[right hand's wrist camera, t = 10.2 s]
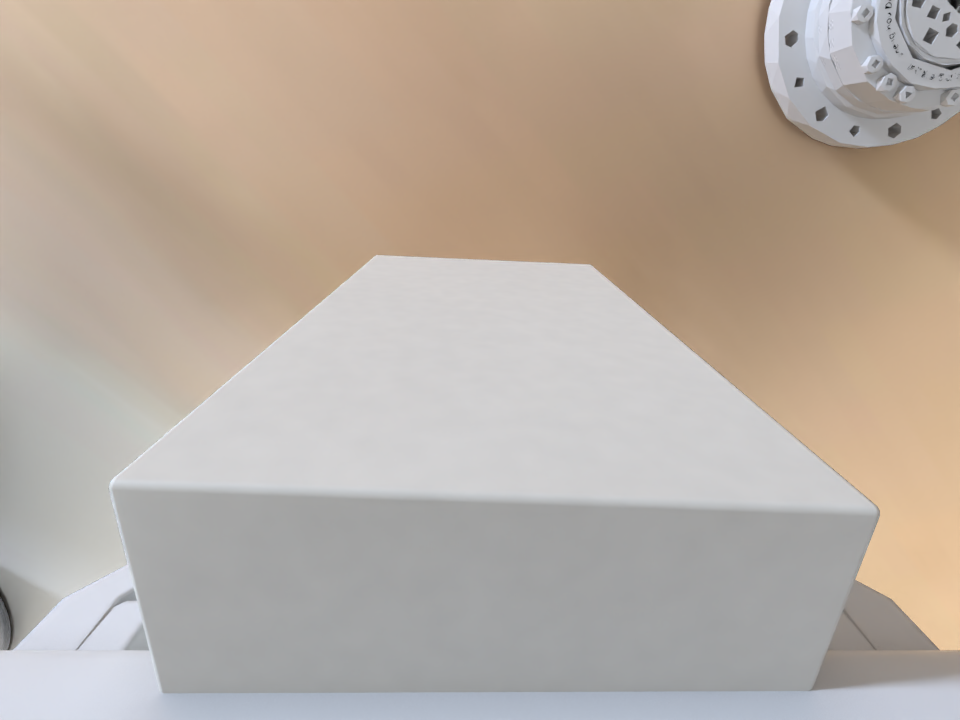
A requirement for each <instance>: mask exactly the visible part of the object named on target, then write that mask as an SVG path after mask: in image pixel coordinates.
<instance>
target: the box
mask: <svg viewBox="0 0 960 720" xmlns="http://www.w3.org/2000/svg"><path fill="white" fill-rule="evenodd" d="M109 492H110V496H111V500H112V504H113V508H114V512H115V516H116V520H117V524H118V528H119V532H120V536H121V540H122V544H123V548H124V552H125V556H126V560H127V564H128V568H129V572H130V576H131V579H132V583H133V587H134V591H135V595H136V599H137V603H138V607H139V611H140V615H141V619H142V623H143V627H144V631H145V635H146V639H147V643H148V647H149V651H150V655H151V659H152V663H153V667H154V671H155V675H156V679H157V683H158V687H159V691H160V692H162V693H399V692H667V691H809V690H812V689H813V686H814V684H815V681H816V679H817V676H818V673H819V671H820V668H821V666H822V663H823V661H824V658H825V655H826V653H827V650H828V648H829V645H830V643H831V640H832V637H833V635H834V632H835V630H836V627H837V625H838V622H839V619H840V617H841V614H842V612H843V609H844V607H845V604H846V601H847V599H848V596H849V594H850V591H851V589H852V586H853V583H854V581H855V578H856V576H857V573H858V571H859V568H860V565H861V563H862V560H863V558H864V555H865V553H866V550H867V547H868V545H869V542H870V540H871V537H872V535H873V532H874V529H875V527H876V524H877V522H878V519H879V517H880V510H879V509H878V507H877V506H876V505H875V504H874V503H873V502H872V501H870V500H869V499H868V498H867V497H866V496H864V495H863V494H862V493H861V492H860V491H858V490H857V489H856V488H855V487H854V486H853V485H851V484H850V483H849V482H848V481H847V480H845V479H844V478H843V477H842V476H841V475H840V474H838V473H837V472H836V471H835V470H834V469H832V468H831V467H830V466H829V465H828V464H826V463H825V462H824V461H823V460H822V459H821V458H819V457H818V456H817V455H816V454H815V453H813V452H812V451H811V450H810V449H809V448H808V447H806V446H805V445H804V444H803V443H802V442H800V441H799V440H798V439H797V438H796V437H794V436H793V435H792V434H791V433H790V432H789V431H787V430H786V429H785V428H784V427H783V426H781V425H780V424H779V423H778V422H777V421H776V420H774V419H773V418H772V417H771V416H770V415H768V414H767V413H766V412H765V411H764V410H762V409H761V408H760V407H759V406H758V405H757V404H755V403H754V402H753V401H752V400H751V399H749V398H748V397H747V396H746V395H745V394H744V393H742V392H741V391H740V390H739V389H738V388H736V387H735V386H734V385H733V384H732V383H731V382H729V381H728V380H727V379H726V378H725V377H723V376H722V375H721V374H720V373H719V372H717V371H716V370H715V369H714V368H713V367H712V366H710V365H709V364H708V363H707V362H706V361H704V360H703V359H702V358H701V357H700V356H699V355H697V354H696V353H695V352H694V351H693V350H691V349H690V348H689V347H688V346H687V345H685V344H684V343H683V342H682V341H681V340H680V339H678V338H677V337H676V336H675V335H674V334H672V333H671V332H670V331H669V330H668V329H667V328H665V327H664V326H663V325H662V324H661V323H659V322H658V321H657V320H656V319H655V318H653V317H652V316H651V315H650V314H649V313H648V312H646V311H645V310H644V309H643V308H642V307H640V306H639V305H638V304H637V303H636V302H635V301H633V300H632V299H631V298H630V297H629V296H627V295H626V294H625V293H624V292H623V291H621V290H620V289H619V288H618V287H617V286H616V285H614V284H613V283H612V282H611V281H610V280H608V279H607V278H606V277H605V276H604V275H603V274H601V273H600V272H599V271H598V270H597V269H595V268H594V267H593V266H592V265H590V264H567V263H544V262H522V261H499V260H476V259H453V258H431V257H408V256H385V255H376V256H375V257H373V258H372V259H371V260H370V261H369V262H368V263H366V264H365V265H364V266H363V267H362V268H360V269H359V270H358V271H357V272H356V273H355V274H353V275H352V276H351V277H350V278H349V279H347V280H346V281H345V282H344V283H343V284H342V285H340V286H339V287H338V288H337V289H336V290H335V291H333V292H332V293H331V294H330V295H329V296H327V297H326V298H325V299H324V300H323V301H322V302H320V303H319V304H318V305H317V306H316V307H315V308H313V309H312V310H311V311H310V312H309V313H307V314H306V315H305V316H304V317H303V318H302V319H300V320H299V321H298V322H297V323H296V324H294V325H293V326H292V327H291V328H290V329H289V330H287V331H286V332H285V333H284V334H283V335H282V336H280V337H279V338H278V339H277V340H276V341H274V342H273V343H272V344H271V345H270V346H269V347H267V348H266V349H265V350H264V351H263V352H262V353H260V354H259V355H258V356H257V357H256V358H254V359H253V360H252V361H251V362H250V363H249V364H247V365H246V366H245V367H244V368H243V369H241V370H240V371H239V372H238V373H237V374H236V375H234V376H233V377H232V378H231V379H230V380H229V381H227V382H226V383H225V384H224V385H223V386H221V387H220V388H219V389H218V390H217V391H216V392H214V393H213V394H212V395H211V396H210V397H209V398H207V399H206V400H205V401H204V402H203V403H201V404H200V405H199V406H198V407H197V408H196V409H194V410H193V411H192V412H191V413H190V414H188V415H187V416H186V417H185V418H184V419H183V420H181V421H180V422H179V423H178V424H177V425H176V426H174V427H173V428H172V429H171V430H170V431H168V432H167V433H166V434H165V435H164V436H163V437H161V438H160V439H159V440H158V441H157V442H155V443H154V444H153V445H152V446H151V447H150V448H148V449H147V450H146V451H145V452H144V453H143V454H141V455H140V456H139V457H138V458H137V459H135V460H134V461H133V462H132V463H131V464H130V465H128V466H127V467H126V468H125V469H124V470H123V471H121V472H120V473H119V474H118V475H117V476H115V477H114V478H113V479H112V480H111V482H110V484H109Z"/></svg>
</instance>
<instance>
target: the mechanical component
mask: <svg viewBox="0 0 960 720" xmlns="http://www.w3.org/2000/svg"><path fill="white" fill-rule="evenodd" d="M764 49H765V66H766V70H767V75H768V79H769V83H770V88H771V90H772V92H773V94H774V96H775V98H776V100H777V101H778V103H779V105H780V107H781V109H782V111H783V113H784V115H785V116H786V118H787V119H788V120H789V121H790V122H792V123H793V124H794V125H796V126H797V127H798V128H799V129H801V130H802V131H803V132H805V133H806V134H807V135H809V136H810V137H811V138H812V139H815V140H817V141H820V142H823V143H825V144H828V145H830V146H839V147H849V148H867V147H877V146H887V145H893V144H897V143H900V142H904V141H907V140H911V139H915V138H917V137H919V136H921V135H923V134H925V133H927V132H929V131H931V130H933V129H935V128H936V127H938V126H940V125H942V124H943V123H945V122H946V121H947V120H949V119H950V118H951V117H953V116H954V115H955V114H957V113H958V112H959V111H960V0H771V3H770V6H769V10H768V16H767V22H766V28H765V34H764Z"/></svg>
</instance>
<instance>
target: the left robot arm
mask: <svg viewBox="0 0 960 720" xmlns="http://www.w3.org/2000/svg"><path fill="white" fill-rule="evenodd" d="M10 638H11V627H10V620H9V616H8V613H7V610H6V607H5V605H4V603H3V601H2V599H1V597H0V650H8V648H9V644H10Z"/></svg>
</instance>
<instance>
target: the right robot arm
mask: <svg viewBox="0 0 960 720" xmlns="http://www.w3.org/2000/svg"><path fill="white" fill-rule="evenodd" d="M0 720H960V650H939V649H938V648H937V647H936V646H935V644H934V643H933V642H932V641H931V640H930V639H929V638H928V637H927V636H926V635H925V634H924V633H923V632H922V631H921V630H920V629H919V628H918V627H917V626H916V625H915V624H914V622H913V621H912V620H911V619H910V618H909V617H908V616H907V615H906V614H905V613H904V612H903V611H902V610H901V609H900V608H899V607H898V606H897V605H896V604H895V603H894V601H893V600H892V599H890V598H888V597H886V596H884V595H883V594H881V593H879V592H877V591H875V590H873V589H871V588H869V587H868V586H866V585H864V584H862V583H860V582H858V581H856V580H855V581H854V583H853V586H852V589H851V591H850V594H849V596H848V599H847V601H846V604H845V607H844V609H843V612H842V614H841V617H840V619H839V622H838V625H837V627H836V630H835V632H834V635H833V637H832V640H831V643H830V645H829V648H828V650H827V653H826V655H825V658H824V661H823V663H822V666H821V668H820V671H819V673H818V676H817V679H816V681H815V684H814V686H813V689H812V690H809V691H667V692H399V693H162V692H160V691H159V687H158V683H157V679H156V675H155V671H154V667H153V663H152V659H151V655H150V651H149V647H148V643H147V639H146V635H145V631H144V627H143V623H142V619H141V615H140V611H139V607H138V603H137V599H136V595H135V591H134V587H133V583H132V579H131V576H130V572H129V568H128V564H127V565H125V566H123V567H122V568H120V569H118V570H116V571H114V572H112V573H110V574H108V575H106V576H105V577H103V578H101V579H99V580H97V581H95V582H93V583H91V584H89V585H88V586H86V587H84V588H82V589H80V590H78V591H76V592H74V593H72V594H70V595H69V596H67V597H65V598H63V599H62V600H61V601H60V602H59V603H58V604H57V605H56V606H55V607H54V608H53V609H52V610H51V611H50V612H49V613H48V614H47V615H46V616H45V617H44V619H43V620H42V621H41V622H40V623H39V624H38V625H37V626H36V627H35V628H34V629H33V630H32V631H31V632H30V633H29V634H28V635H27V636H26V637H25V638H24V639H23V640H22V641H21V642H20V643H19V644H18V645H17V646H16V647H15V648H14V649H13V650H0Z"/></svg>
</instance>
